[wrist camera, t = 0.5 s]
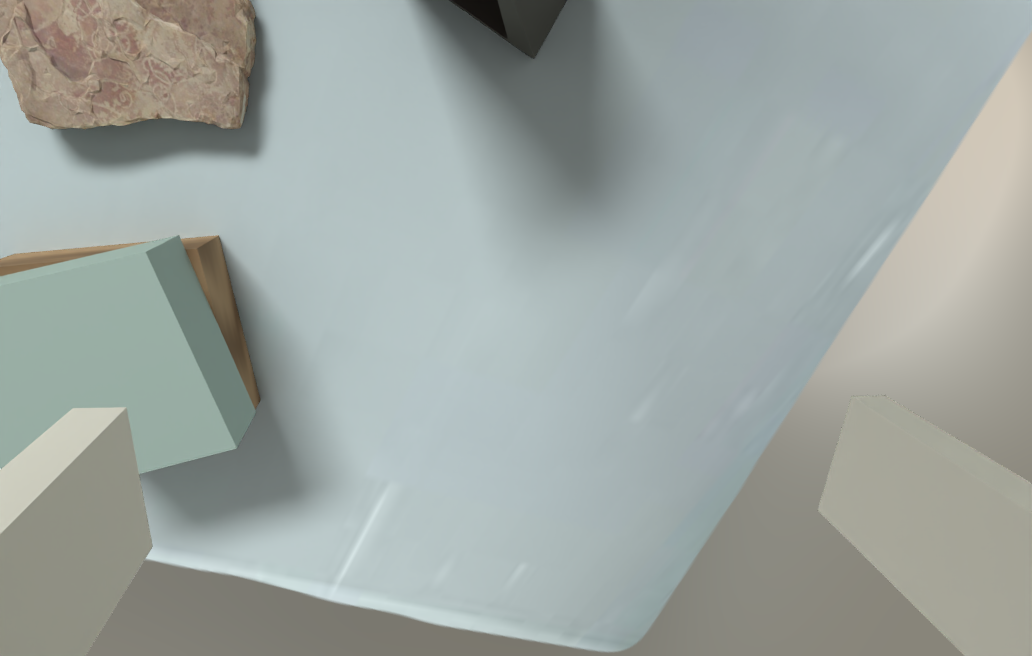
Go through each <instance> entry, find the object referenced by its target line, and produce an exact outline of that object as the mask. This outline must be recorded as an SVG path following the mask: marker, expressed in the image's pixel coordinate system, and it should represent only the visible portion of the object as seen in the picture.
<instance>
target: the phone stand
mask: <svg viewBox="0 0 1032 656" xmlns="http://www.w3.org/2000/svg"><path fill="white" fill-rule="evenodd" d="M450 1H451V2H452V3H454V4H455V5H457V6H458V7H459V8H461V9H462V10H465V11H466V12H468V13H469V15H471V16H472V17H474V18H475V19H477V20H478V21H479V22H481V23H482V24H484V25H485V26H487V27H488V28H489V29H491V30H492V31H494V32H495V33H497V34H498V35H499V36H501V37H502V38H504V39H505V40H506V41H508V42H509V43H511V44H512V45H514V46H515V47H516V48H518V49H519V50H521V51H522V52H524V53H525V54H526V55H528V56H529V57H531V58H533V59H534V58H535V56H536V55H537V53H538V51H539V49H540V47H541V46H542V44H543V42H544V40H545V38H546V37H547V35H548V33H549V31H550V29H551V28H552V26H553V24H554V22H555V20H556V19H557V17H558V15H559V13H560V11H561V10H562V8H563V6H564V4H565V3H566V1H567V0H450Z"/></svg>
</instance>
